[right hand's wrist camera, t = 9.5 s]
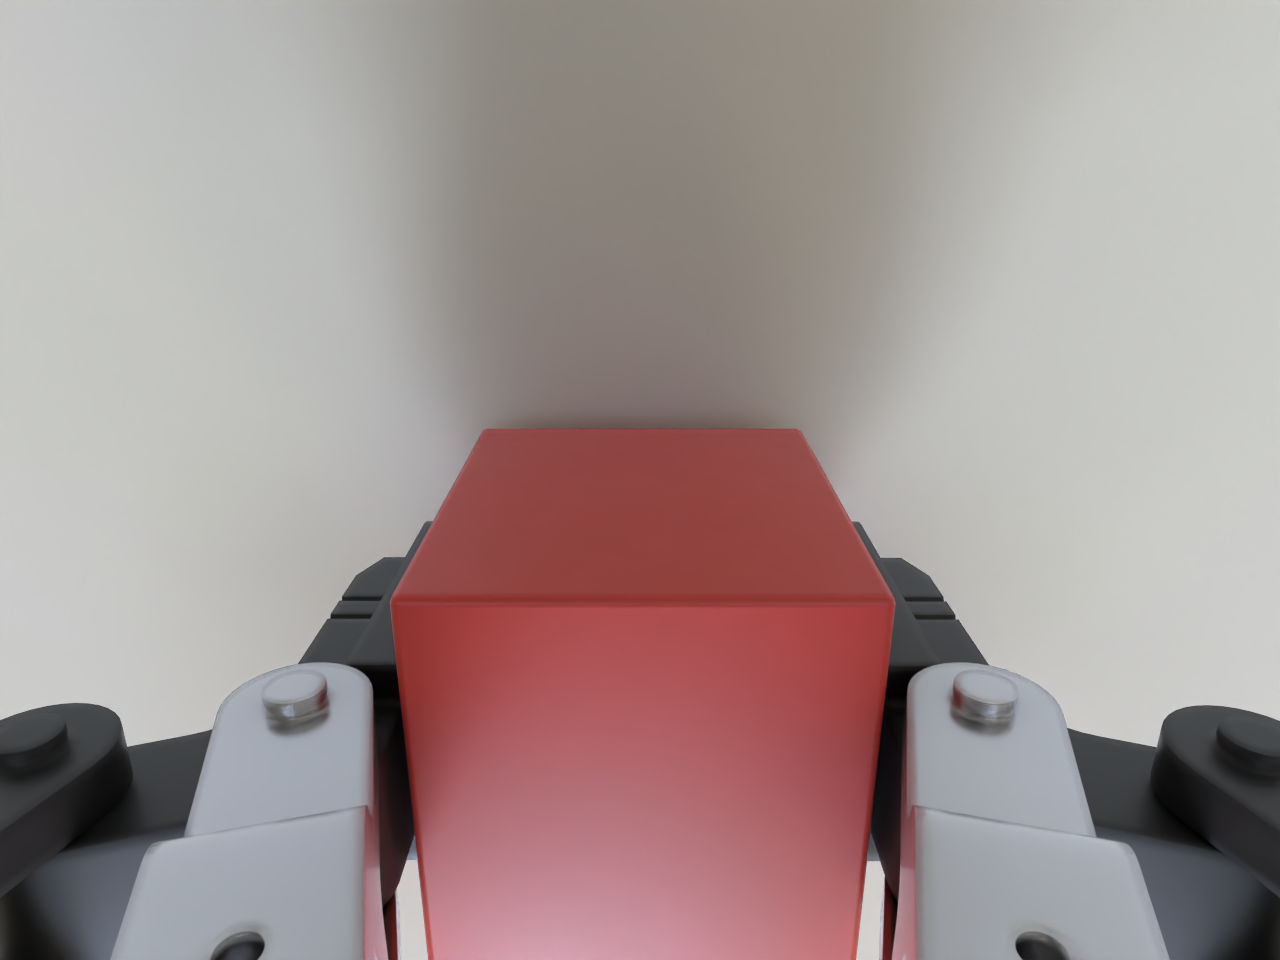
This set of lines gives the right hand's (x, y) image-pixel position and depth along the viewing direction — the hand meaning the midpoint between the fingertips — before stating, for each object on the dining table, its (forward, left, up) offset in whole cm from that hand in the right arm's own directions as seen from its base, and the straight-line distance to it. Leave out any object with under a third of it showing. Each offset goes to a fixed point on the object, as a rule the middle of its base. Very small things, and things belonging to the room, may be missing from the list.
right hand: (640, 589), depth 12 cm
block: (0, 0, 0) cm, 0 cm away
